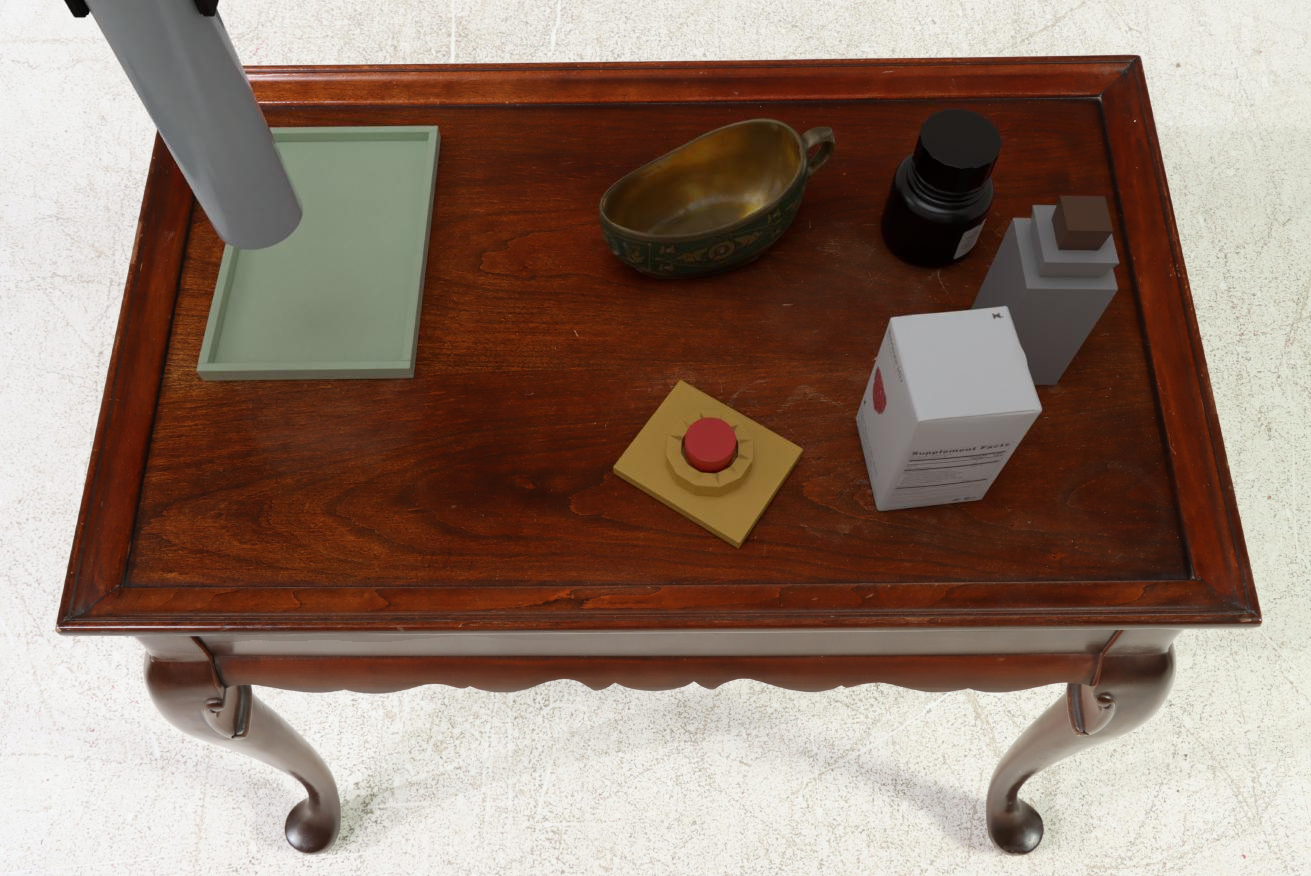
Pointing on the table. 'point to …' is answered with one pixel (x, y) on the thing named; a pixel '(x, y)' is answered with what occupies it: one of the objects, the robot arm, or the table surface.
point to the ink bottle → (942, 189)
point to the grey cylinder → (205, 115)
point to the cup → (712, 199)
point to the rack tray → (333, 263)
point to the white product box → (944, 407)
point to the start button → (710, 444)
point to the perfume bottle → (1054, 280)
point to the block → (703, 496)
